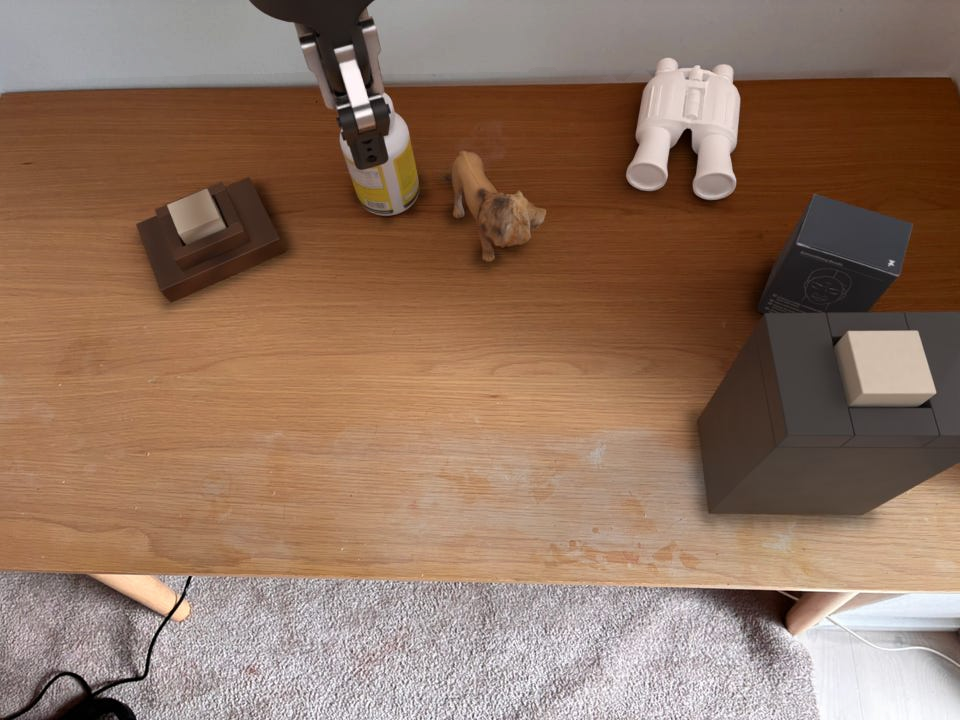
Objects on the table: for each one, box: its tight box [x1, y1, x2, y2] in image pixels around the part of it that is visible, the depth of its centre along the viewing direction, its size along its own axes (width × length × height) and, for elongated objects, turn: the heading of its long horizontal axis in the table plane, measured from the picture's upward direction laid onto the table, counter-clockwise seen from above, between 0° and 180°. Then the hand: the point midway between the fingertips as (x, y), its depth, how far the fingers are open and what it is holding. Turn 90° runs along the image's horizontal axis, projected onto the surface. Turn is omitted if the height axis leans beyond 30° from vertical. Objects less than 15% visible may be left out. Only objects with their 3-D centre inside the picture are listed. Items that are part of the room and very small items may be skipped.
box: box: [756, 193, 914, 315], centre depth 58 cm, size 8×6×11 cm
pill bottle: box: [339, 92, 420, 217], centre depth 66 cm, size 6×6×12 cm
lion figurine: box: [443, 150, 547, 263], centre depth 64 cm, size 15×5×9 cm, turn 35°
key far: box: [167, 188, 226, 245], centre depth 65 cm, size 4×4×2 cm
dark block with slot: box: [696, 311, 960, 516], centre depth 48 cm, size 12×8×18 cm, turn 89°
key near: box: [834, 331, 936, 407], centre depth 40 cm, size 4×4×2 cm
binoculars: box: [625, 57, 741, 201], centre depth 70 cm, size 10×16×5 cm, turn 167°
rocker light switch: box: [135, 176, 286, 303], centre depth 67 cm, size 12×9×4 cm
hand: (370, 159), depth 45 cm, fingers closed
